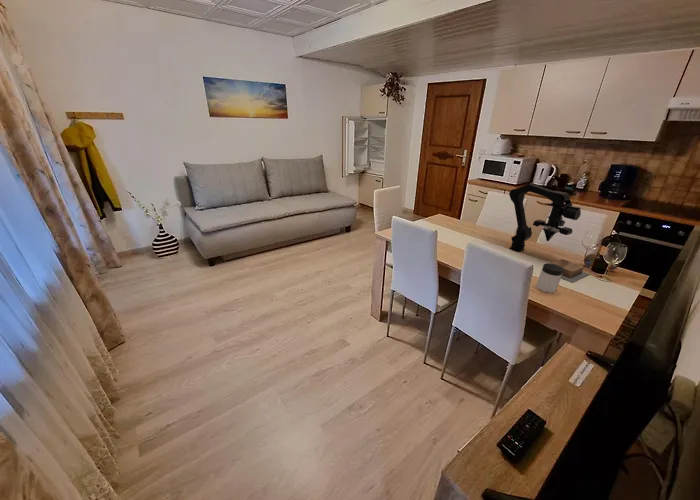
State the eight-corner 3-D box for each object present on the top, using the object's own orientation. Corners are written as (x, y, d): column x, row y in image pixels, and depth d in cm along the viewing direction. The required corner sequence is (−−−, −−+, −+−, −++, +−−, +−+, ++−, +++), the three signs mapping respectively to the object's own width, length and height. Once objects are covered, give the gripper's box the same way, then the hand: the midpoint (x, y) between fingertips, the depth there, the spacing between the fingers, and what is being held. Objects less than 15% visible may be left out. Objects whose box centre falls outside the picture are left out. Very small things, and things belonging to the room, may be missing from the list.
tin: (582, 266, 168) (587, 253, 165) (581, 264, 171) (586, 251, 167) (615, 273, 162) (621, 259, 159) (613, 270, 165) (619, 257, 161)
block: (550, 263, 161) (572, 271, 153) (562, 258, 167) (584, 266, 158) (548, 269, 163) (569, 278, 154) (560, 265, 168) (581, 273, 160)
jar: (537, 291, 143) (545, 269, 138) (533, 282, 150) (540, 261, 145) (558, 294, 141) (567, 272, 136) (553, 286, 148) (561, 264, 143)
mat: (546, 272, 161) (546, 271, 161) (563, 265, 169) (564, 264, 169) (572, 282, 151) (572, 282, 151) (589, 274, 159) (589, 274, 159)
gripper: (581, 217, 161) (572, 244, 167) (546, 209, 175) (539, 233, 182) (571, 220, 156) (561, 247, 162) (536, 211, 170) (528, 236, 177)
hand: (547, 240), depth 171 cm, fingers closed
